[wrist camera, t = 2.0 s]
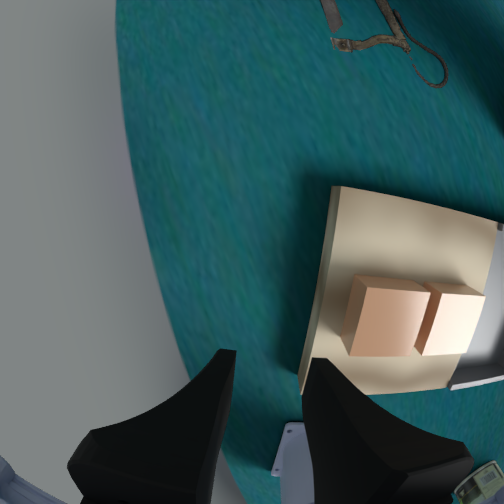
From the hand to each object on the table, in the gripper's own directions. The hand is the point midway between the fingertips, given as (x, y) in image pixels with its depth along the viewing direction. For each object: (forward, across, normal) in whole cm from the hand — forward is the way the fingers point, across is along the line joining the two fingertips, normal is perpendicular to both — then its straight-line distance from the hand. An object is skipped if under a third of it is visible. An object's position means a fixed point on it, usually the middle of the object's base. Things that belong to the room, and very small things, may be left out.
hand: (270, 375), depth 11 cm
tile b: (+8, -13, 0) cm, 15 cm away
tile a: (+8, -8, 0) cm, 11 cm away
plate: (+10, -10, 0) cm, 15 cm away
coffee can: (+11, -46, +37) cm, 60 cm away
